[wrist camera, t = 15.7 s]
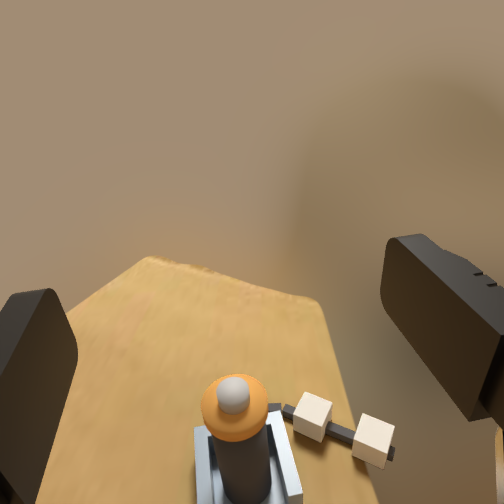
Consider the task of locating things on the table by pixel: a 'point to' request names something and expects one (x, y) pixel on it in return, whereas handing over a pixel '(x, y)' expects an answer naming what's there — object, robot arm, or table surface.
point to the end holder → (281, 462)
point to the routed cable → (340, 429)
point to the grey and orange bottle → (239, 436)
